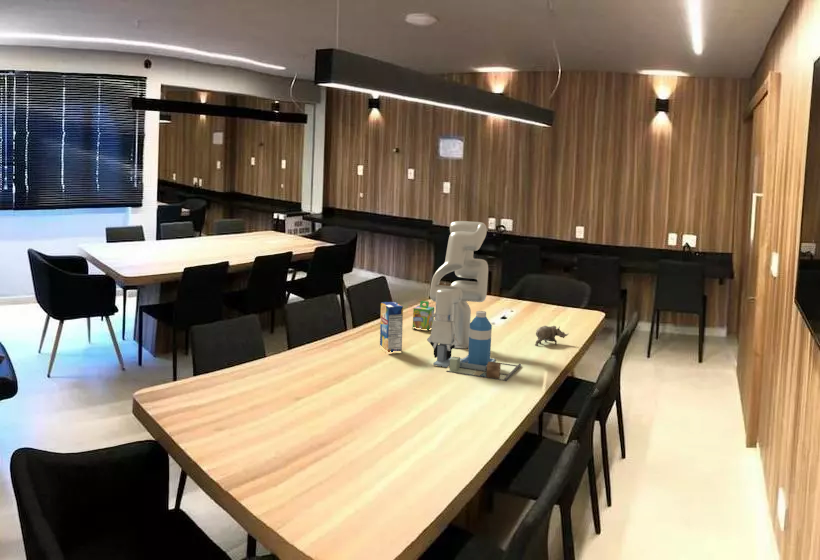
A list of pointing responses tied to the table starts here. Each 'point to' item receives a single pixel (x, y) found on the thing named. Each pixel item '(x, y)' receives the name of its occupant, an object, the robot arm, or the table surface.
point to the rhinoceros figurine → (548, 334)
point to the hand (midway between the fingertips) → (442, 357)
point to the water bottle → (479, 340)
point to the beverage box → (391, 326)
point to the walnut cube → (493, 369)
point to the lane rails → (492, 377)
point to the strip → (458, 366)
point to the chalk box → (423, 316)
